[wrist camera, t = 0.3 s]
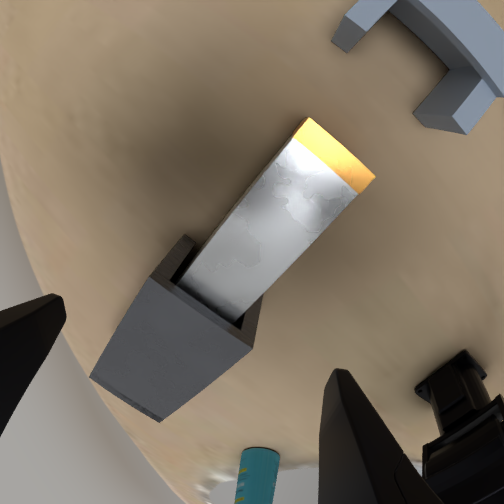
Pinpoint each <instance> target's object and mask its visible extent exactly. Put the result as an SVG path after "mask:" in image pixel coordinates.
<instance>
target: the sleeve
mask: <svg viewBox="0 0 504 504" xmlns="http://www.w3.org/2000/svg"><path fill="white" fill-rule="evenodd" d="M194 245H195V242H194V241H193V240H191V239H190V238H189V237H187V236H186V235H185V234H184V235H183V236H182V238H181V239H180V240H179V241H178V242H177V243H176V245H175V246H174V247H173V248H172V249H171V251H170V252H169V253H168V254H167V255H166V257H165V258H164V259H163V260H162V261H161V263H160V264H159V265H158V266H157V268H156V269H155V270H154V271H153V272H152V274H151V275H150V276H149V278H148V279H147V281H146V282H145V284H144V285H143V287H142V289H141V290H140V292H139V293H138V295H137V296H136V298H135V300H134V301H133V303H132V304H131V306H130V308H129V309H128V311H127V313H126V314H125V316H124V317H123V319H122V321H121V322H120V324H119V326H118V327H117V329H116V331H115V332H114V334H113V336H112V337H111V339H110V341H109V343H108V344H107V346H106V348H105V349H104V351H103V353H102V355H101V356H100V358H99V360H98V362H97V363H96V365H95V367H94V369H93V371H92V372H91V374H90V376H89V378H91V379H92V380H94V381H95V382H96V383H98V384H99V385H101V386H102V387H103V388H105V389H106V390H108V391H109V392H111V393H112V394H114V395H115V396H117V397H118V398H120V399H121V400H123V401H124V402H126V403H127V404H129V405H131V406H132V407H134V408H135V409H137V410H139V411H140V412H142V413H144V414H145V415H147V416H149V417H150V418H152V419H154V420H155V421H157V422H159V423H160V422H161V421H162V420H164V419H165V418H166V417H168V416H169V415H171V414H172V413H173V412H175V411H176V410H177V409H179V408H180V407H181V406H182V405H184V404H185V403H186V402H188V401H189V400H190V399H192V398H193V397H194V396H195V395H197V394H198V393H199V392H201V391H202V390H203V389H204V388H206V387H207V386H208V385H209V384H211V383H212V382H213V381H214V380H216V379H217V378H218V377H219V376H221V375H222V374H223V373H224V372H226V371H227V370H228V369H229V368H230V367H232V366H233V365H234V364H235V363H237V362H238V361H239V360H240V359H241V358H243V357H244V356H245V355H246V354H247V353H248V352H250V351H251V350H252V349H253V345H254V340H255V335H256V330H257V325H258V319H259V314H260V309H261V303H262V298H263V294H262V295H261V296H260V297H259V298H258V299H257V300H256V301H255V302H254V303H253V304H252V305H251V306H250V307H249V308H248V309H247V310H246V311H245V312H244V313H243V314H242V315H241V316H240V317H239V318H238V319H237V320H236V321H235V322H234V323H233V324H230V323H229V322H227V321H226V320H224V319H223V318H221V317H220V316H219V315H217V314H216V313H214V312H213V311H211V310H210V309H208V308H207V307H206V306H204V305H203V304H201V303H200V302H198V301H197V300H196V299H194V298H193V297H191V296H190V295H189V294H187V293H186V292H184V291H183V290H182V289H180V288H179V287H178V286H176V285H175V284H173V283H172V282H171V281H169V280H170V279H171V277H172V276H173V274H174V273H175V271H176V270H177V269H178V267H179V266H180V264H181V263H182V261H183V260H184V259H185V257H186V256H187V254H188V253H189V252H190V250H191V249H192V247H193V246H194Z"/></svg>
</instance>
